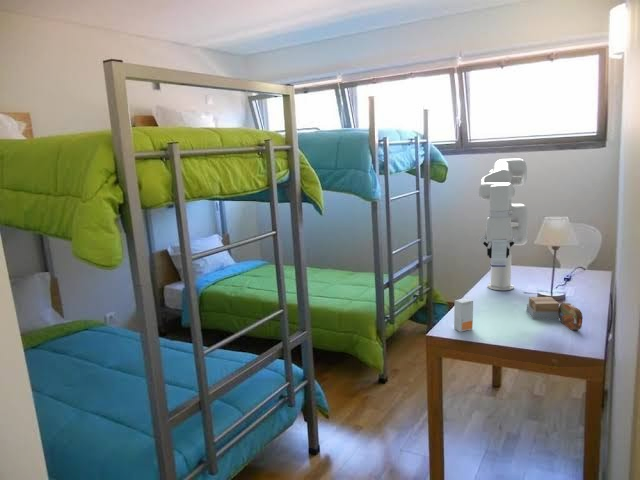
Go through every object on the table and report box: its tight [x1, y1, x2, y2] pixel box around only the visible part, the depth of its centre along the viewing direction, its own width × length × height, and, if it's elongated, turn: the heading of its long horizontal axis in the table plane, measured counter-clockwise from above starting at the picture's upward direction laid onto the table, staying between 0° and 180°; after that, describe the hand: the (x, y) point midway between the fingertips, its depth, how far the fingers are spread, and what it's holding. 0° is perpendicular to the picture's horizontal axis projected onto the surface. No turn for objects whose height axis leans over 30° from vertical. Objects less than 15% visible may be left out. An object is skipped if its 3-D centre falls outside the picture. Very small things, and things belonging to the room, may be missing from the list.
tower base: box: [526, 303, 560, 320], centre depth 203 cm, size 10×10×4 cm
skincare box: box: [453, 297, 474, 333], centre depth 190 cm, size 6×4×12 cm
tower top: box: [528, 296, 560, 312], centre depth 202 cm, size 9×9×4 cm
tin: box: [558, 302, 583, 331], centre depth 189 cm, size 15×3×8 cm, turn 178°
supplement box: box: [489, 240, 507, 267], centre depth 201 cm, size 6×6×12 cm
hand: (498, 256), depth 202 cm, fingers closed on supplement box, 5 cm apart
